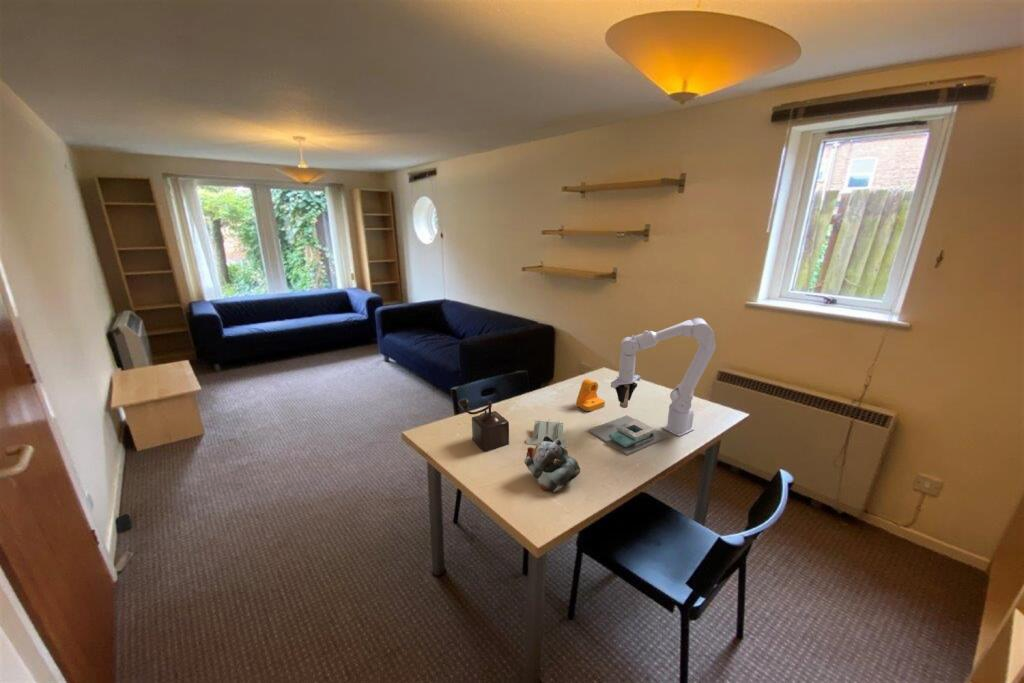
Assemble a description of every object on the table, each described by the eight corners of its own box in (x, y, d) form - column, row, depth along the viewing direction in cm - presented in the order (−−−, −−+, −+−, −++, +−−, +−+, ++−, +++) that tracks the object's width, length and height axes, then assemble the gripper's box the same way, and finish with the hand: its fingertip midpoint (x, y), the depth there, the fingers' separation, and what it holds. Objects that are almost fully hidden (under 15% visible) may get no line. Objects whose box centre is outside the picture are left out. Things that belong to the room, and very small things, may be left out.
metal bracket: (530, 415, 155) (568, 418, 152) (530, 426, 158) (568, 429, 156) (525, 443, 143) (567, 446, 141) (525, 454, 146) (566, 457, 144)
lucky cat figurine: (545, 499, 116) (526, 455, 116) (533, 489, 128) (515, 449, 128) (587, 474, 120) (569, 432, 120) (571, 467, 132) (554, 428, 132)
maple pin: (623, 403, 159) (625, 383, 157) (629, 406, 157) (631, 385, 154) (618, 405, 158) (619, 384, 155) (623, 408, 155) (625, 387, 153)
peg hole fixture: (635, 428, 154) (636, 419, 153) (654, 438, 147) (655, 429, 146) (607, 439, 146) (608, 430, 145) (626, 451, 139) (627, 441, 138)
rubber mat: (626, 416, 165) (626, 415, 165) (667, 437, 149) (668, 436, 149) (587, 431, 154) (587, 429, 154) (627, 455, 138) (627, 454, 138)
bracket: (587, 413, 168) (589, 387, 165) (576, 406, 174) (577, 381, 171) (605, 406, 174) (607, 381, 171) (593, 400, 180) (595, 376, 176)
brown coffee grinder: (495, 431, 154) (494, 388, 149) (509, 444, 145) (509, 399, 140) (458, 442, 146) (456, 397, 141) (471, 457, 137) (469, 410, 132)
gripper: (631, 361, 160) (628, 393, 164) (605, 369, 152) (603, 401, 156) (645, 367, 154) (642, 399, 158) (619, 374, 147) (617, 408, 151)
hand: (624, 400), depth 157 cm, fingers closed on maple pin, 3 cm apart
